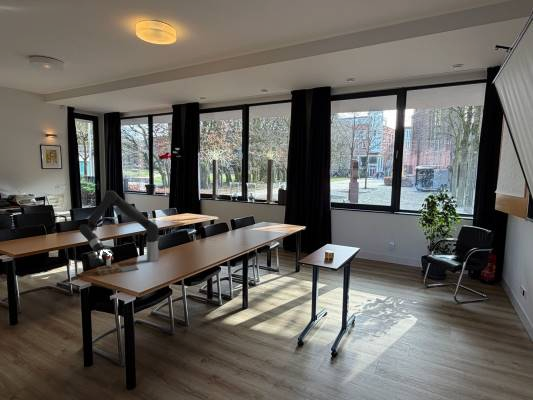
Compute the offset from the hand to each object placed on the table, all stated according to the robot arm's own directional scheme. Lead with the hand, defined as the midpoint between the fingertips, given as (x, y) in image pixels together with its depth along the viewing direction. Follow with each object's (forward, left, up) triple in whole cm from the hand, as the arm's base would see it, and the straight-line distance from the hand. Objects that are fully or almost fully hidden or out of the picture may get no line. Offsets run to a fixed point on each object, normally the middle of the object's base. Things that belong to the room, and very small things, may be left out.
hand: (107, 261), depth 239 cm
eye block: (0, +1, -8) cm, 8 cm away
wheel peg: (0, +1, -8) cm, 8 cm away
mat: (-14, +2, -8) cm, 16 cm away
